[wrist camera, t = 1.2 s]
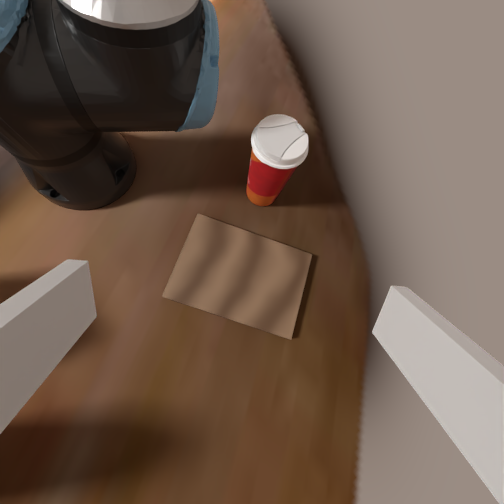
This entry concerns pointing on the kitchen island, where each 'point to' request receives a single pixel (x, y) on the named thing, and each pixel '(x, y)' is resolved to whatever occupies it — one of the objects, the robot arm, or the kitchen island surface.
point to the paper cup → (274, 157)
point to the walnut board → (240, 276)
